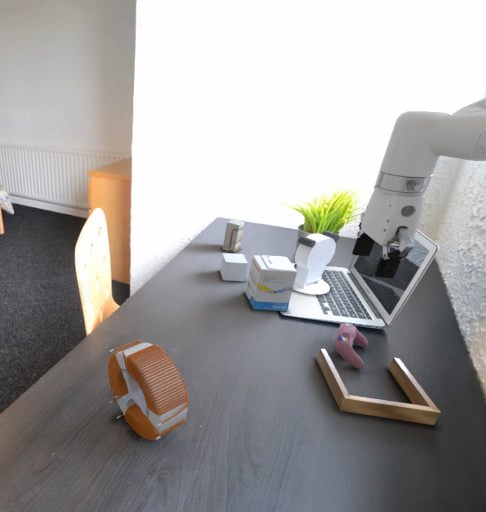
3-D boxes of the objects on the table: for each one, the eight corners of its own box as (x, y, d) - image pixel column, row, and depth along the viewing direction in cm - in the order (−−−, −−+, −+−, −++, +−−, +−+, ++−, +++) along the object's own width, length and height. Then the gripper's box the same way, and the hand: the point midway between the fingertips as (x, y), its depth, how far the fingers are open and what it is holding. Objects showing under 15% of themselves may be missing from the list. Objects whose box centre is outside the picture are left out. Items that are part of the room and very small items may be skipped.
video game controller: (344, 345, 83) (336, 317, 82) (369, 345, 80) (360, 316, 79) (338, 370, 76) (328, 340, 75) (365, 371, 73) (355, 339, 72)
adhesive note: (244, 281, 107) (248, 263, 104) (222, 280, 108) (225, 262, 105) (240, 271, 112) (243, 254, 109) (219, 270, 113) (222, 253, 110)
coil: (132, 386, 71) (135, 323, 65) (187, 446, 60) (197, 376, 53) (102, 400, 68) (102, 336, 62) (154, 466, 57) (160, 395, 50)
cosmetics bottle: (234, 253, 124) (239, 225, 119) (221, 249, 127) (226, 222, 122) (240, 248, 127) (245, 221, 123) (228, 245, 130) (232, 218, 126)
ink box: (288, 311, 92) (298, 270, 87) (252, 309, 94) (261, 269, 89) (277, 294, 100) (286, 255, 95) (244, 292, 101) (252, 254, 96)
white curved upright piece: (303, 271, 111) (315, 225, 105) (340, 288, 102) (356, 238, 96) (274, 280, 107) (285, 232, 100) (310, 298, 98) (325, 247, 91)
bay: (394, 369, 74) (399, 358, 72) (434, 425, 62) (441, 412, 61) (316, 359, 77) (320, 348, 76) (340, 410, 65) (345, 398, 64)
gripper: (457, 197, 59) (417, 288, 66) (399, 172, 74) (371, 249, 82) (403, 195, 60) (370, 285, 68) (357, 171, 76) (334, 246, 83)
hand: (371, 265), depth 75 cm, fingers open, 9 cm apart
